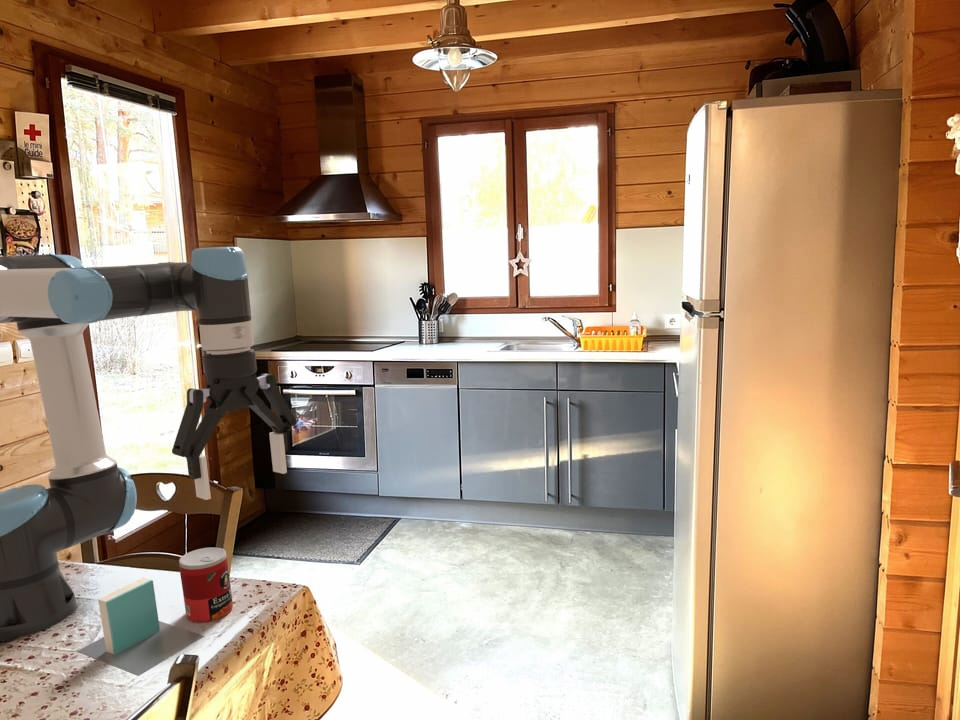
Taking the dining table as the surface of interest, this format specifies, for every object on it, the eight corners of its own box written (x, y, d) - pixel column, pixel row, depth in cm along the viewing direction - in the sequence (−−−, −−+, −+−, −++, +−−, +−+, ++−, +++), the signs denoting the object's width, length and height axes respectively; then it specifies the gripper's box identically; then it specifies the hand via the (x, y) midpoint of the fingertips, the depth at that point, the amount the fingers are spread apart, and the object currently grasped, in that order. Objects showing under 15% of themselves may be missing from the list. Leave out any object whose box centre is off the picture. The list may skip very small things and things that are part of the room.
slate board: (77, 654, 115) (76, 651, 115) (144, 619, 125) (143, 615, 125) (139, 679, 107) (138, 675, 107) (205, 639, 117) (204, 635, 117)
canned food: (218, 627, 121) (210, 566, 119) (176, 625, 122) (168, 565, 121) (242, 604, 128) (235, 547, 126) (202, 602, 130) (195, 546, 128)
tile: (106, 651, 114) (98, 599, 113) (150, 627, 121) (143, 577, 119) (115, 655, 113) (107, 602, 111) (160, 630, 120) (152, 580, 118)
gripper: (162, 365, 95) (181, 515, 99) (310, 339, 115) (322, 465, 118) (135, 361, 100) (154, 504, 103) (282, 337, 119) (294, 459, 123)
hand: (243, 484), depth 111 cm, fingers open, 13 cm apart
